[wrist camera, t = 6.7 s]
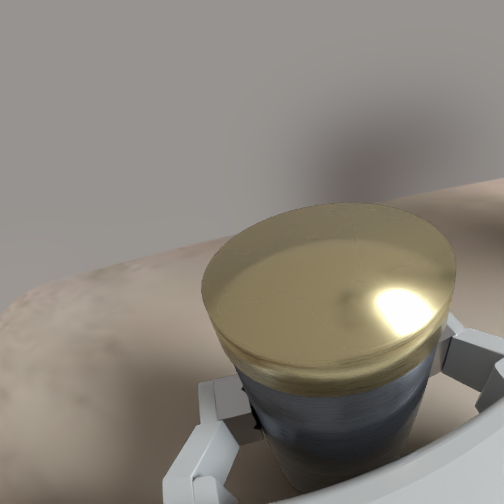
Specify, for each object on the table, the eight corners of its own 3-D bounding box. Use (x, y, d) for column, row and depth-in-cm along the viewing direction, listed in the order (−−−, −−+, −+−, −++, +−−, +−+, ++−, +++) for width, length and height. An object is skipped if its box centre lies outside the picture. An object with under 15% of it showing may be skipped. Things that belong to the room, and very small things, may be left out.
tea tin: (374, 381, 14) (375, 188, 10) (423, 470, 9) (508, 282, 5) (265, 417, 14) (198, 236, 9) (292, 520, 9) (210, 397, 4)
